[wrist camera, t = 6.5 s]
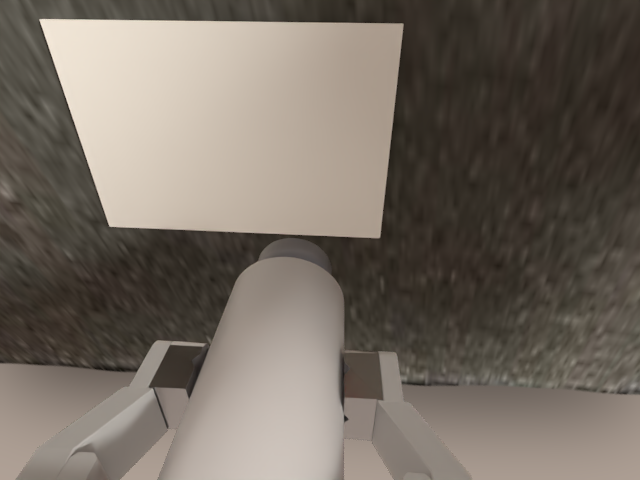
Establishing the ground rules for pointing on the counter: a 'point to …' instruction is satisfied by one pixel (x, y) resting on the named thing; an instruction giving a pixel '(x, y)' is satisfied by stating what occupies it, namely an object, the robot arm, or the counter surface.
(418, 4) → the counter surface
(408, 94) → the counter surface
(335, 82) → the paper
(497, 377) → the counter surface
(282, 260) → the marker
